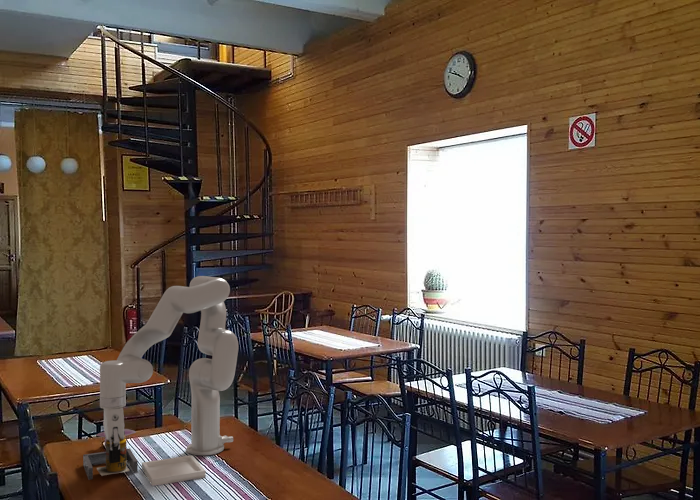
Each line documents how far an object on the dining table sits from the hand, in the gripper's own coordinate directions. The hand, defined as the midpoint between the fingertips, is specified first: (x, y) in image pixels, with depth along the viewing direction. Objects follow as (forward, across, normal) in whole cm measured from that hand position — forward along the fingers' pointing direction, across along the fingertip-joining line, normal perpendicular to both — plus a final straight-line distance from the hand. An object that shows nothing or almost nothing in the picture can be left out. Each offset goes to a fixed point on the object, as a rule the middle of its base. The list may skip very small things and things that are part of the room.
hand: (113, 458), depth 207 cm
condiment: (+4, 0, 0) cm, 4 cm away
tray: (+5, -7, -17) cm, 19 cm away
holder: (+5, +5, 0) cm, 7 cm away
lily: (+5, +27, -4) cm, 28 cm away
